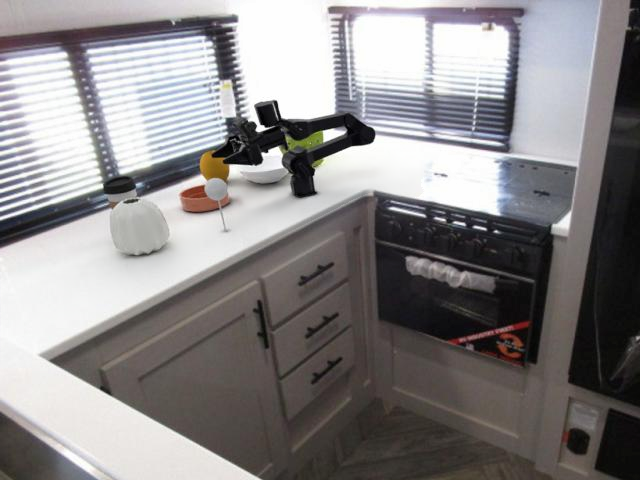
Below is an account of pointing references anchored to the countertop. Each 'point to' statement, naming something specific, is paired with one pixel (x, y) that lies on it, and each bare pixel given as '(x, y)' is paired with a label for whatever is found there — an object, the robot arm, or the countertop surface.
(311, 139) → the flower pot
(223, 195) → the lollipop
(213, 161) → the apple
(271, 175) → the bowl
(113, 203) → the coffee cup
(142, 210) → the vase
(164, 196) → the countertop surface
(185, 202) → the terracotta plant saucer
